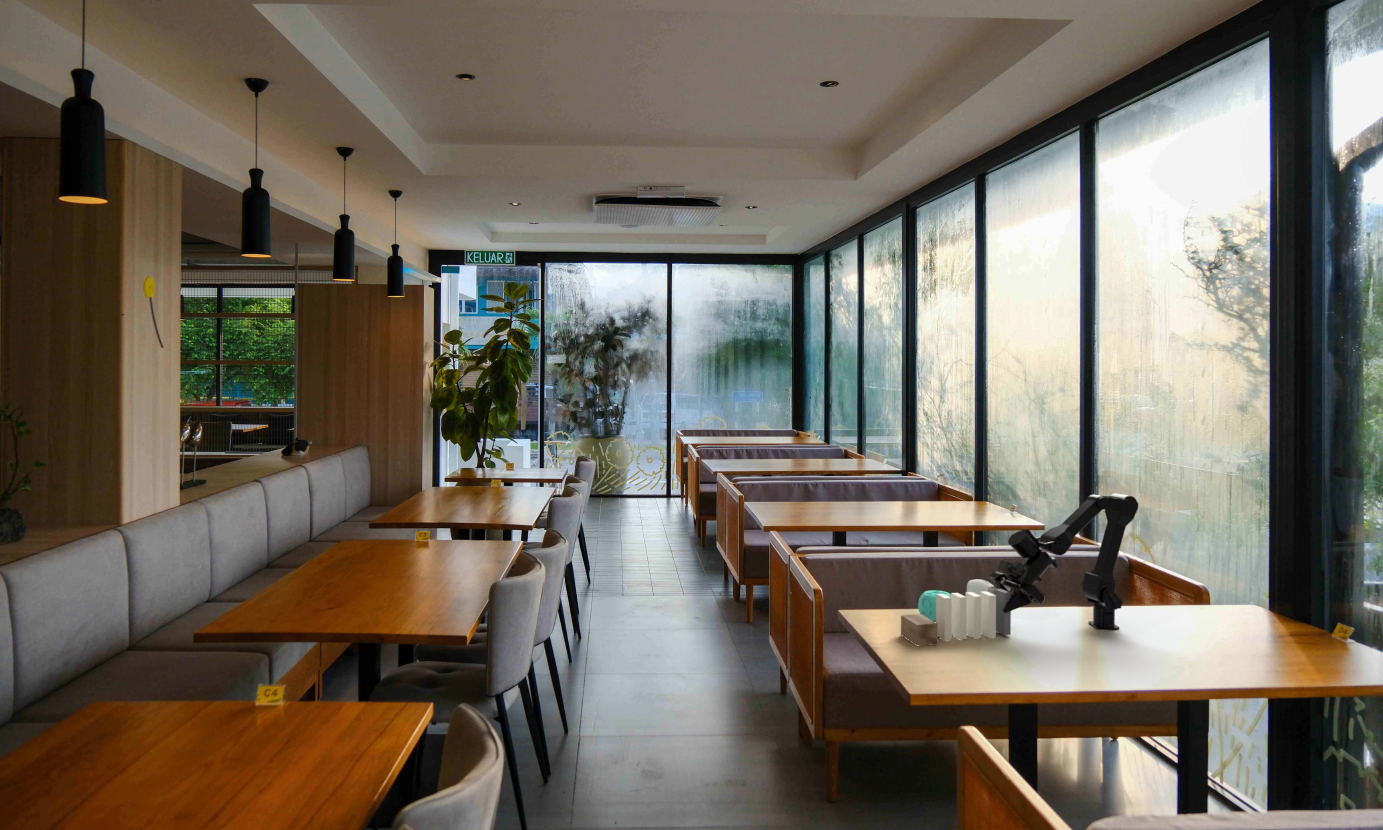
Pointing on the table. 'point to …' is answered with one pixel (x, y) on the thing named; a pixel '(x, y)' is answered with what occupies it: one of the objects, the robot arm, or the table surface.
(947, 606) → the ivory domino
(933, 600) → the decorative dice
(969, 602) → the ivory domino
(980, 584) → the white rounded block
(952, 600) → the ivory domino
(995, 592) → the charcoal domino
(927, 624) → the walnut end block
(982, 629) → the ivory domino
